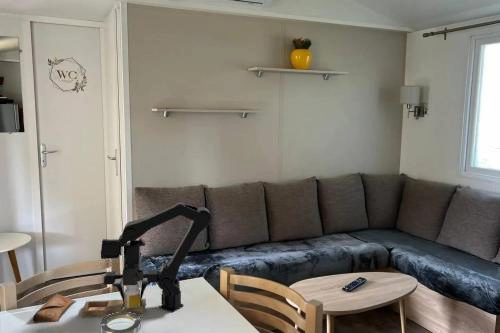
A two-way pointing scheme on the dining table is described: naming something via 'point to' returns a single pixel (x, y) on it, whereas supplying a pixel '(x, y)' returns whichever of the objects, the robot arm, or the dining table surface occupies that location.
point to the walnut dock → (109, 308)
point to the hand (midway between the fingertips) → (132, 300)
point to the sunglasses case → (53, 309)
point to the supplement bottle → (132, 297)
